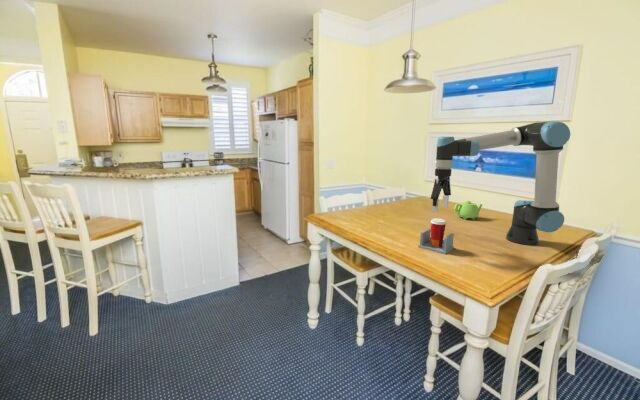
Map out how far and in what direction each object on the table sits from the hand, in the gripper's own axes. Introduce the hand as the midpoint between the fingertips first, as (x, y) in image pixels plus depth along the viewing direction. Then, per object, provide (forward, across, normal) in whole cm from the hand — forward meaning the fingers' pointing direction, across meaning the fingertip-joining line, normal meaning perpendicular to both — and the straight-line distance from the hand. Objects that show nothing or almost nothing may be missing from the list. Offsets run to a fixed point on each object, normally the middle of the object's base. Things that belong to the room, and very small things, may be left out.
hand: (439, 209), depth 152 cm
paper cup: (+20, 0, 0) cm, 20 cm away
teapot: (+21, -75, -7) cm, 78 cm away
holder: (+20, 0, 0) cm, 20 cm away
